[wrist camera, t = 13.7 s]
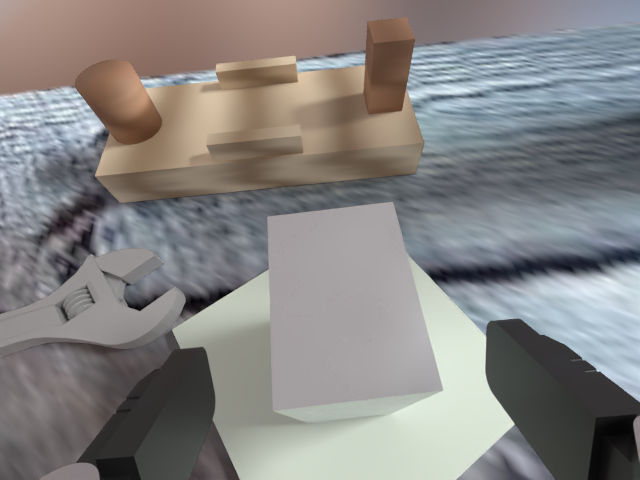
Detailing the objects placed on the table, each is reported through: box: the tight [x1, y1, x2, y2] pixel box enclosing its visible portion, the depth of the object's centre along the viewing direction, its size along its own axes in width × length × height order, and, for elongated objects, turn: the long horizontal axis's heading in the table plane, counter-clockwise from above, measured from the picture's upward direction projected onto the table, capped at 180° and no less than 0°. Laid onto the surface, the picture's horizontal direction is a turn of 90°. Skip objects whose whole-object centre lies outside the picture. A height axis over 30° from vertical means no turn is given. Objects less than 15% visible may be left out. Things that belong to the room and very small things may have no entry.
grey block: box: [267, 202, 443, 424], centre depth 14 cm, size 4×6×10 cm
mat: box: [172, 254, 514, 480], centre depth 18 cm, size 14×14×1 cm
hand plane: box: [75, 17, 424, 203], centre depth 24 cm, size 22×9×8 cm, turn 94°
